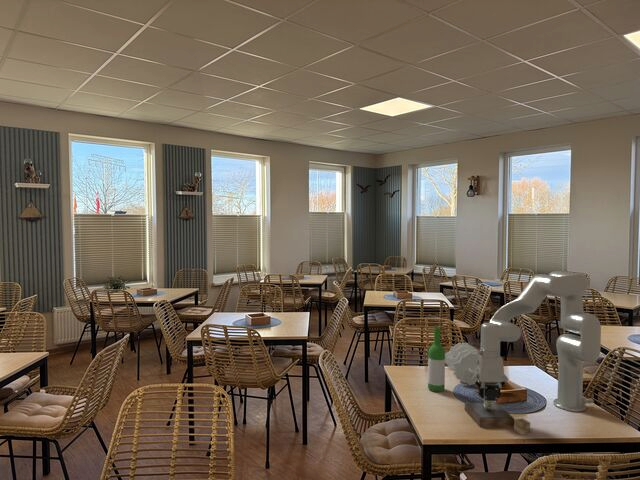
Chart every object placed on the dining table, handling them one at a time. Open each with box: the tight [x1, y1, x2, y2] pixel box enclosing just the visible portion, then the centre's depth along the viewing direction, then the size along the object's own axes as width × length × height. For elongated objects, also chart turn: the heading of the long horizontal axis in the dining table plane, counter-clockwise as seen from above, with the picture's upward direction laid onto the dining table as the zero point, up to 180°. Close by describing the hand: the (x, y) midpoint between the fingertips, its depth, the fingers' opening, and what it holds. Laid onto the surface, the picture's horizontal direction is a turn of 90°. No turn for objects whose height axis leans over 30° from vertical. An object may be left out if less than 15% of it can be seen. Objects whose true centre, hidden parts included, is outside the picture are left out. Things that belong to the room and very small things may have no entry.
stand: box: [464, 402, 515, 428], centre depth 185 cm, size 14×16×3 cm
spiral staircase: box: [445, 341, 480, 386], centre depth 231 cm, size 18×18×25 cm
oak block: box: [513, 417, 531, 435], centre depth 173 cm, size 4×4×4 cm
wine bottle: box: [427, 326, 446, 393], centre depth 216 cm, size 8×8×30 cm
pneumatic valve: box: [483, 383, 500, 409], centre depth 185 cm, size 6×12×12 cm, turn 169°
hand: (489, 396), depth 185 cm, fingers closed on pneumatic valve, 5 cm apart
